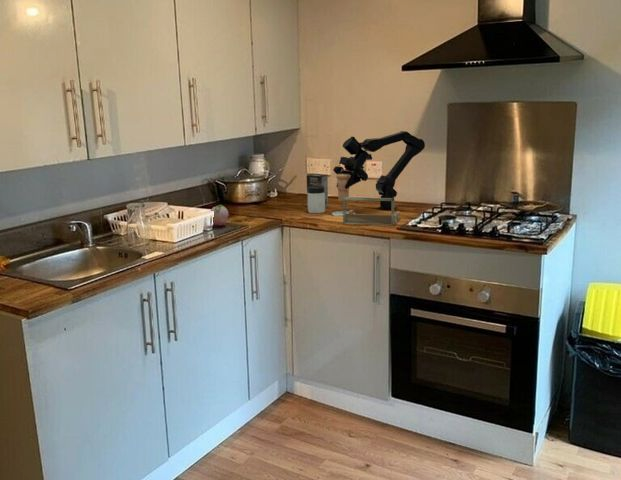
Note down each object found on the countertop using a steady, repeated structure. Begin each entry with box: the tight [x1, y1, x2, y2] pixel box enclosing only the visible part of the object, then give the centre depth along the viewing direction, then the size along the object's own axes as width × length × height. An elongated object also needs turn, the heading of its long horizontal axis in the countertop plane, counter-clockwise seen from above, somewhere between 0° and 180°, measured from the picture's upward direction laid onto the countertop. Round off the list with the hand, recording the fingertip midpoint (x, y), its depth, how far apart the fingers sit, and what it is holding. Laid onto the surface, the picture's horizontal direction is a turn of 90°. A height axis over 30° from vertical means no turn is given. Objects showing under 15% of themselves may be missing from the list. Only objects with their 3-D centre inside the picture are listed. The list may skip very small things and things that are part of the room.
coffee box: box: [306, 173, 329, 208], centre depth 318 cm, size 9×6×16 cm
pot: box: [335, 173, 350, 202], centre depth 294 cm, size 6×6×12 cm
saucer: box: [331, 210, 356, 217], centre depth 297 cm, size 11×11×1 cm
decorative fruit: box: [210, 204, 229, 227], centre depth 278 cm, size 9×8×10 cm
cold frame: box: [342, 196, 401, 227], centre depth 277 cm, size 16×22×12 cm
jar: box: [306, 186, 326, 214], centre depth 305 cm, size 9×8×12 cm
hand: (341, 187), depth 293 cm, fingers closed on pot, 5 cm apart
